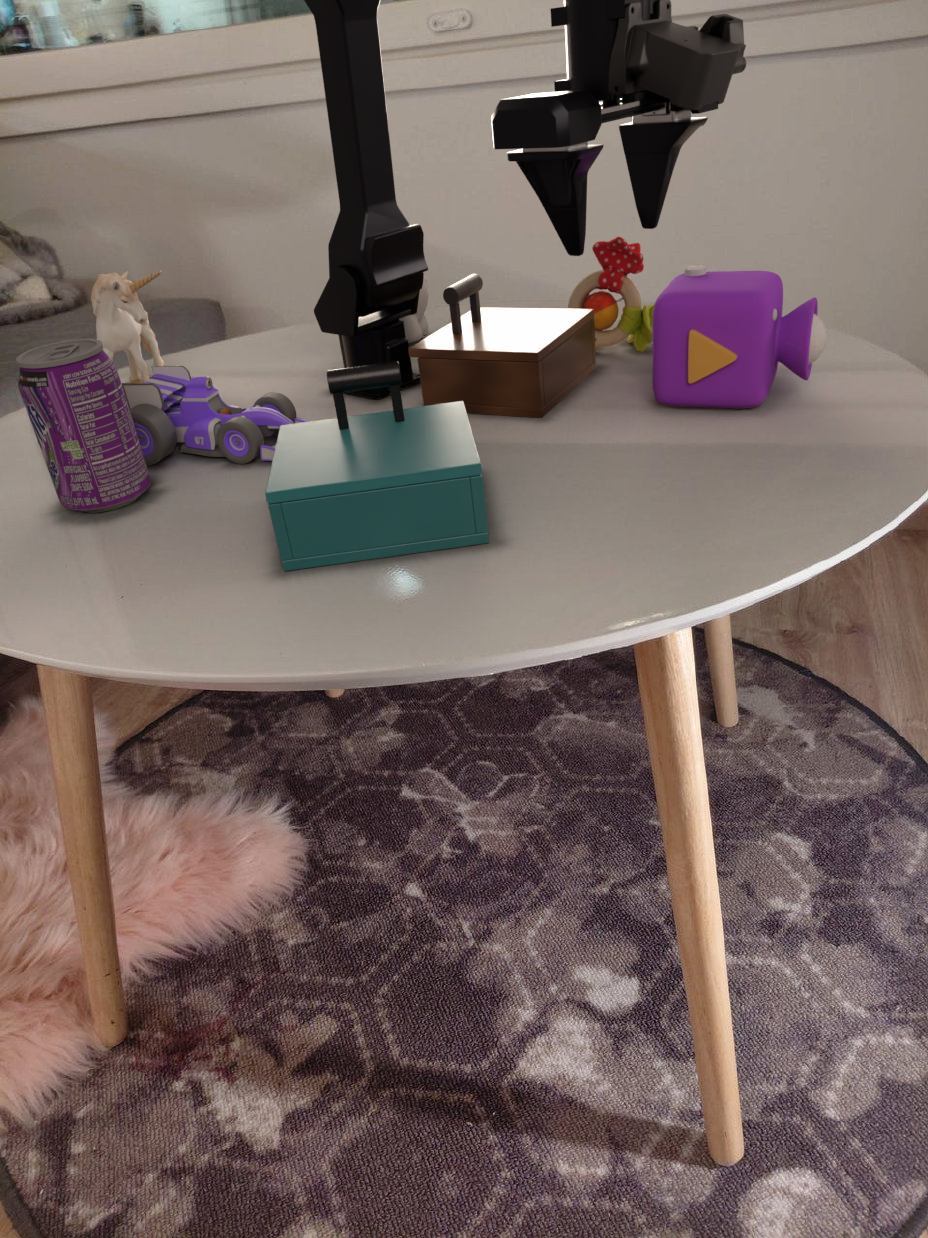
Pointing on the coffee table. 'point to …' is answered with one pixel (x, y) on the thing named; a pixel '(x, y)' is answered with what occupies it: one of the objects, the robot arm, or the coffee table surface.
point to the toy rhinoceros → (417, 317)
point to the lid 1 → (371, 443)
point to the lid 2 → (498, 329)
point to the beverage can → (83, 425)
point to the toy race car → (202, 418)
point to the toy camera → (728, 338)
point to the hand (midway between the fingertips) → (614, 241)
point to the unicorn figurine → (124, 321)
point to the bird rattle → (616, 266)
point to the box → (511, 379)
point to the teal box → (380, 522)
